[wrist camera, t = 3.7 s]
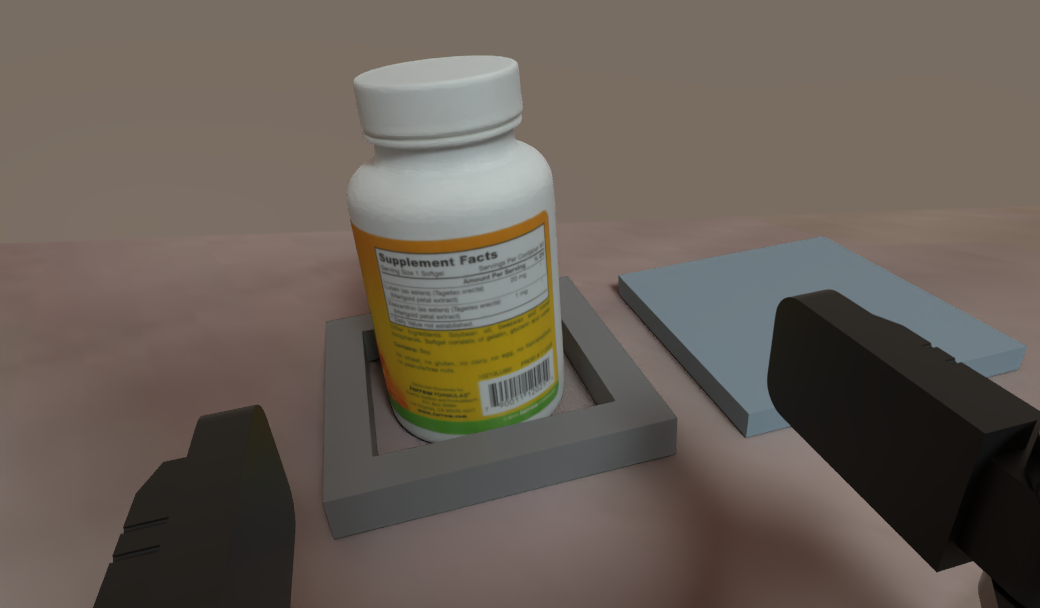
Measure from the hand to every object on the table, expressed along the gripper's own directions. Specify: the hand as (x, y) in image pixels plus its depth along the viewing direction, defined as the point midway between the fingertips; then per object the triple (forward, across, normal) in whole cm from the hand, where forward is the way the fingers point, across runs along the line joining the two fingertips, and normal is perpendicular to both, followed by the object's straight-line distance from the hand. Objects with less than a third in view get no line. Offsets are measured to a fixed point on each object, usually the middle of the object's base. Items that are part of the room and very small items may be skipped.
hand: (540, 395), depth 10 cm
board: (+8, -11, +6) cm, 15 cm away
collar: (+8, 0, +6) cm, 10 cm away
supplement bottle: (+8, 0, +6) cm, 11 cm away
